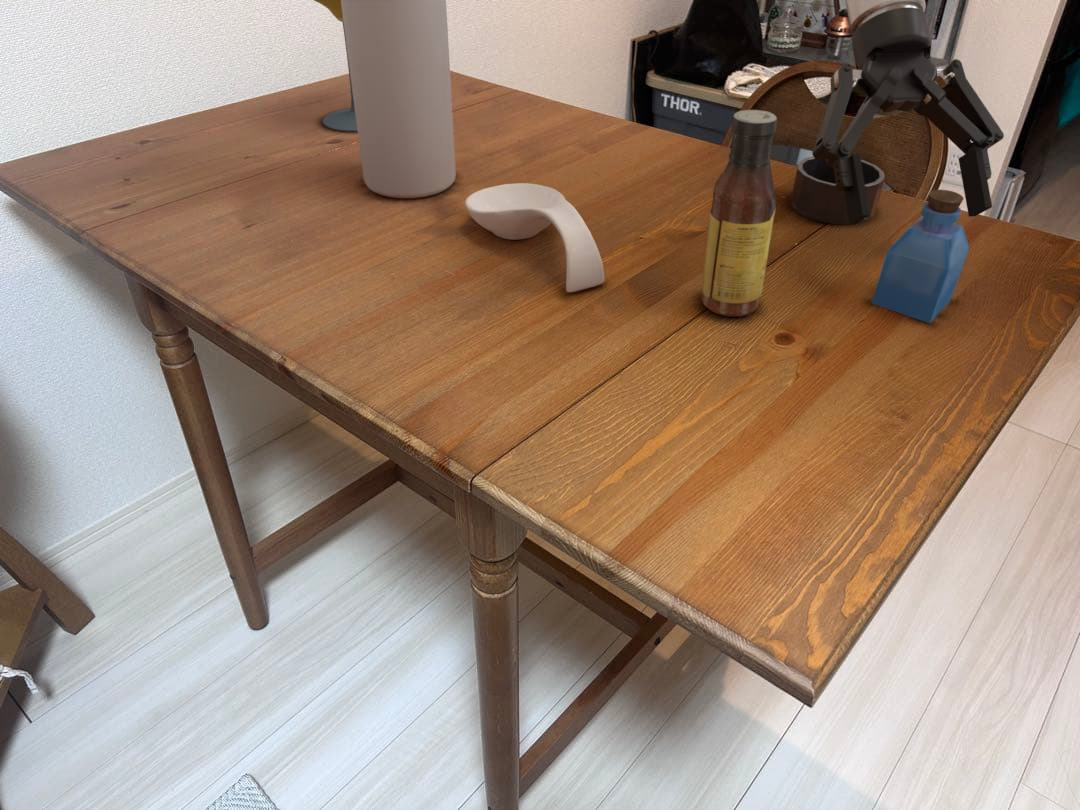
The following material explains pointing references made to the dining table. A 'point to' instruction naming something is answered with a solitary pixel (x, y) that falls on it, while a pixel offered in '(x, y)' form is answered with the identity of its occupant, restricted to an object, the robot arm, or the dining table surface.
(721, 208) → the sauce bottle
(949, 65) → the robot arm
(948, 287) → the perfume bottle
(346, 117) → the cocktail glass
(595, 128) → the dining table surface
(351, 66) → the cylinder vase
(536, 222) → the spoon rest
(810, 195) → the dark brown round bowl
